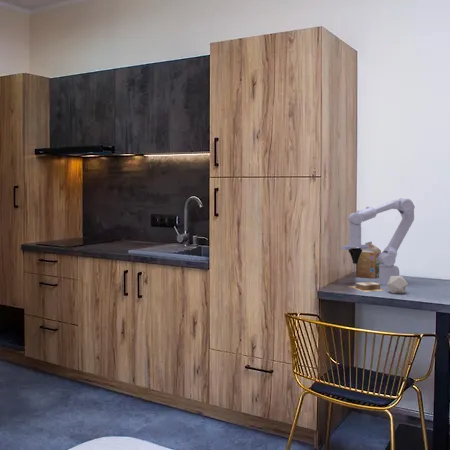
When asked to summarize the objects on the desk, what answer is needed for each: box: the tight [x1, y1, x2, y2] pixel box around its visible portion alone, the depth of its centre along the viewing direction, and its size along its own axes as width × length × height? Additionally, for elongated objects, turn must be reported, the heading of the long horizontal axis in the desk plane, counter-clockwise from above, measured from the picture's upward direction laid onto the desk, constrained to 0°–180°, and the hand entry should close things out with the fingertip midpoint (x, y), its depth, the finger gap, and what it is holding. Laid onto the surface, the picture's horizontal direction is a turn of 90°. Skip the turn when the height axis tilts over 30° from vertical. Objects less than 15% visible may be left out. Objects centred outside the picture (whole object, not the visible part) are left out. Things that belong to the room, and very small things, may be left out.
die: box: [386, 275, 409, 294], centre depth 248 cm, size 8×9×10 cm
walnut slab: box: [355, 281, 381, 291], centre depth 259 cm, size 9×2×7 cm
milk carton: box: [355, 240, 382, 280], centre depth 296 cm, size 11×11×19 cm
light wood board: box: [347, 285, 388, 293], centre depth 260 cm, size 12×16×1 cm
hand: (355, 263), depth 273 cm, fingers closed
